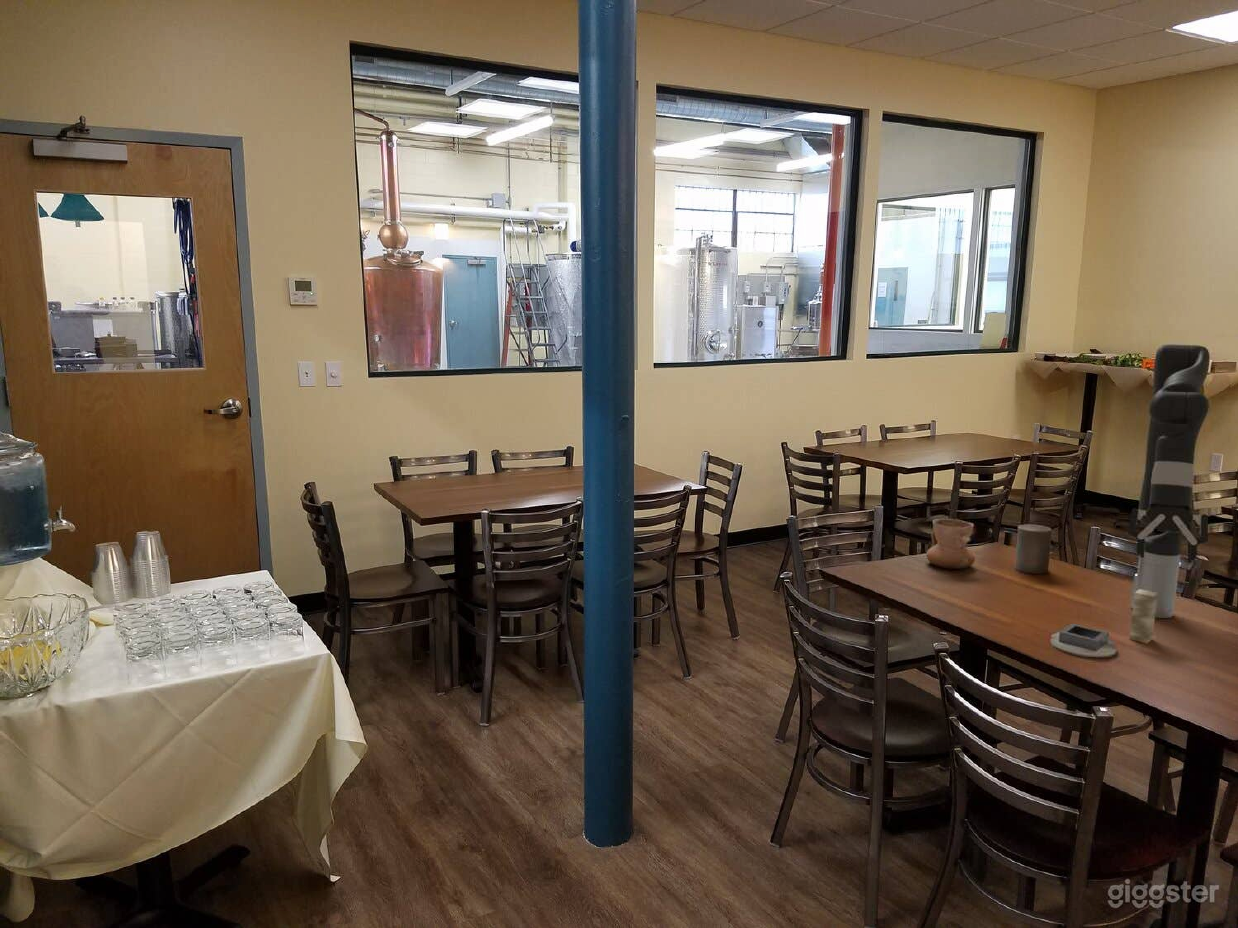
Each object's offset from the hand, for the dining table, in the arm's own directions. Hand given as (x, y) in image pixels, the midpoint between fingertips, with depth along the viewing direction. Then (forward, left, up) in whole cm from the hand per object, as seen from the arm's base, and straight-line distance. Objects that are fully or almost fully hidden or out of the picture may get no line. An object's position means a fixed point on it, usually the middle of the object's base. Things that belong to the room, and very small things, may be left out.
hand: (1165, 560), depth 183 cm
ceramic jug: (-90, +7, -28) cm, 94 cm away
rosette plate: (-22, +1, -28) cm, 36 cm away
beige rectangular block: (-24, +19, -28) cm, 41 cm away
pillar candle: (-81, +30, -28) cm, 91 cm away
